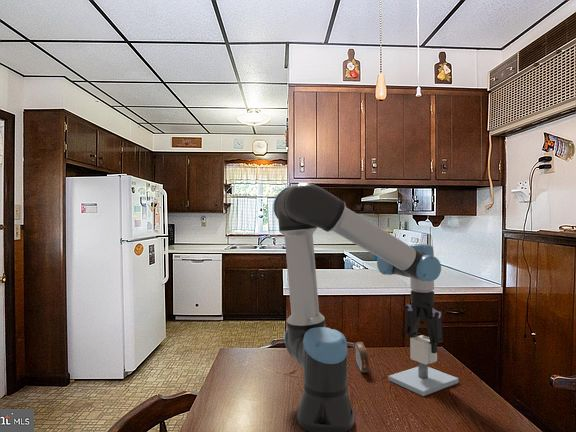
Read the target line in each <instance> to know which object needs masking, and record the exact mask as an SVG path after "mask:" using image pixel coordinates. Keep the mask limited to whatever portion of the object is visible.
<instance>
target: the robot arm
mask: <svg viewBox="0 0 576 432" xmlns="http://www.w3.org/2000/svg"><path fill="white" fill-rule="evenodd" d="M346 204H347V203H346V202H345V201H343V200H342V199H340V198H339V197H337V196H335V195H334V194H332V193H331V192H329V191H328V190H325V189H324V188H322V187H320V186H318V185H316V184H313V183H310V182H302V183H298V184H294V185H291V186H290V185H289V186H287V187H284V188H283V189H282V190H281V191H279V193H278V194H276V196H275V197H274V201H273V213H274V215H275V217H276V218H277V220H278V221H277V222H278V232H279V233H281V235H282V236H283V237H284V244H285V245H284V246H285V254H286V268H287V279H288V290H289V292H288V293H289V302H290V315H289V316H288V318H287V319H286V329H285V333H284V344H285V348H286V350H287V351H288V354H290V356H291V357H292V358H293V359H294V360H295V361H296V362H298V364H299V365H300V366H301V367H302V368H303V392H302V396H301V398H300V403H299V406H298V408H297V423H298V426H300V427H301V428H302V429H303V430H305V431H306V432H348V431H350V430H351V429H352V428H353V426H354V425H355V414H354V410H353V406H352V403H351V400H350V397H349V394H348V352H349V351H348V345H347V344H348V343H347V339H346V336H345V335H344V333H342V332H341V331H339V330H337V329H334V328H333V329H332V328H330V327H326V320H325V316H324V315H323V314H322V313H321V312H320V306H319V296H318V293H319V292H318V284H317V283H318V281H317V271H316V259H315V258H316V256H315V246H314V233H315V232H316V231H317V229H318V228H319V229H321V230H323V231H325V232H327V233H328V232H334V234H335V233H336V234H338V235H339V236H341V237H343V238H344V239H346V240H347V241H349V242H351V243H353V244H355V245H356V246H358V247H360V248H362V249H363V250H365V251H366V252H369V253H371V254H372V255H374V256H376V266H377V269H378V272H379V273H380V274H382V275H384V276H385V275H389V276H392V275H395V276H396V275H397V276H401V277H406V278H410V280H409V281H410V284H409V285H410V289H411V291H410V301H411V304H406V305H404V312H405V313H404V315H405V318H404V333H405V334H406V335H408V336H409V339H410V338H413V337H416V336H419V334H418V331H419V326H420V323H421V319H422V320H423V322H424V324H425V327H426V331H427V336H428V337H429V339H430V342H429V343H428V363H429V364H434V363H436V362H437V361H436V353H437V354H438V344H439V343H443V341H444V339H443V338H444V337H443V323H442V318H443V311H441V310H440V311H438V310H437V309H435V305H434V304H435V291H434V290H435V281H436V280H437V279H438V278H439V277H440V275H441V272H442V264H441V261H440V260H439V259H438V257H436V256H435V255H434V253H435V252H434V247H433V245H431V244H426V243H423V244H422V243H418V244H417V243H414V244H413V243H412V244H411V245H409V244H407V243H406V242H404V241H402V240H401V239H399V238H397V237H396V236H394V235H392V234H391V233H389V232H388V231H386V230H385V229H382V228H381V227H379V226H378V225H376V224H374V223H373V222H371V221H369V220H367V218H365V217H363V216H361V215H360V214H358V213H356V212H355V211H353V210H351V209H350V208H348V207H347V205H346Z"/></svg>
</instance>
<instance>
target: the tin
mask: <svg viewBox="0 0 576 432" xmlns="http://www.w3.org/2000/svg"><path fill="white" fill-rule="evenodd" d="M354 346H355V347H354V348H355V360H356V363H357V366H358V369H359V371H360V372H361V373H369V371H370V365H369V364H370V363H369V357H368V351H367V349H366V347H365V345H364V343H363V341H357V342H356V341H355V343H354Z"/></svg>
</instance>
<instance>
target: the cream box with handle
mask: <svg viewBox="0 0 576 432" xmlns="http://www.w3.org/2000/svg"><path fill="white" fill-rule="evenodd" d="M429 342H430V339H429V336H426V335H423V334H421V335H417V336H415V337H413V338H410V337H409V347H410V348H409V349H410V350H409V353H410V360H412V361H415V362H420V363H423V364H425V365H426V364H428V365H429V364H430V363H428V343H429ZM437 361H438V352H437V353H436V362H437Z"/></svg>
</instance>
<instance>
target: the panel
mask: <svg viewBox="0 0 576 432" xmlns="http://www.w3.org/2000/svg"><path fill="white" fill-rule="evenodd" d="M387 376H388V381H390V382H392V383H394V384H396V385H398V386H400V387H402V388H405V389H406V390H408V391H411V392H414V393H415V394H416V395H417V394H418V395H420V396H422V397H425V396H428V395H430V394H432V393H435V392H438V391H441V390H443V389H445V388H448V387H451V386H453V385H457V384H458V383H459V377H456V376H453V375H451V374H448V373H445V372H442V371H441V370H438V369H435V368H432V367H429V364H426V365H425V364H423V363H420V362H418V366H415V367H413V368H410V369H406V370H402V371H399V372H396V373H394V374H390V375H387Z"/></svg>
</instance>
